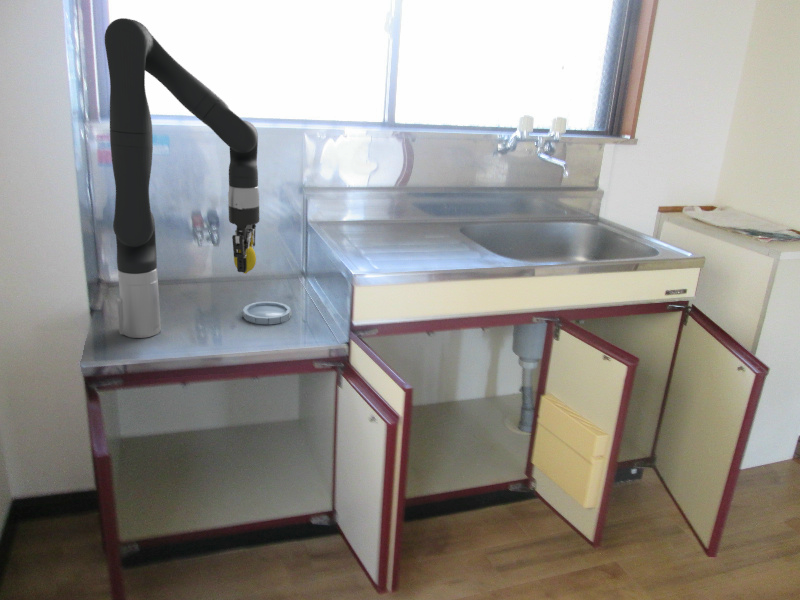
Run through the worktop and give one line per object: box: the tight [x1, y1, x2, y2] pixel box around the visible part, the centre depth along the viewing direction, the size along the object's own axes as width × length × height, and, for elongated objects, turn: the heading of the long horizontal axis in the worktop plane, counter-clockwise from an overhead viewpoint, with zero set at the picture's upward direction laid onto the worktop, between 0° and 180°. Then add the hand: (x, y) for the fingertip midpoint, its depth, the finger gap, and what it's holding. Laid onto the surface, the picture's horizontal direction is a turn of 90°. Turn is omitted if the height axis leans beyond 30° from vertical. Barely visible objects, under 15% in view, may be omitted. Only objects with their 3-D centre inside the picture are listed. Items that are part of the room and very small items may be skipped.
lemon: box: [233, 244, 257, 274], centre depth 171 cm, size 6×6×8 cm
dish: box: [242, 301, 292, 325], centre depth 189 cm, size 13×13×2 cm
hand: (245, 267), depth 172 cm, fingers closed on lemon, 5 cm apart
